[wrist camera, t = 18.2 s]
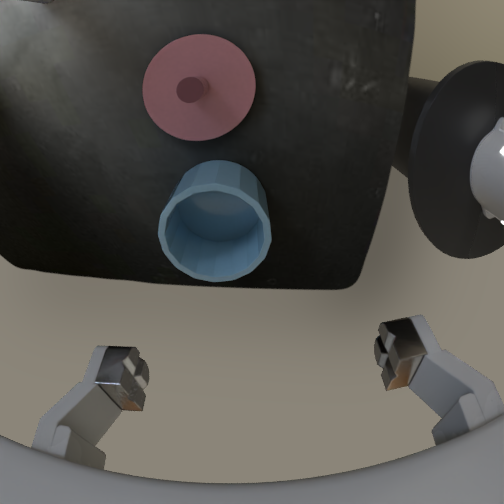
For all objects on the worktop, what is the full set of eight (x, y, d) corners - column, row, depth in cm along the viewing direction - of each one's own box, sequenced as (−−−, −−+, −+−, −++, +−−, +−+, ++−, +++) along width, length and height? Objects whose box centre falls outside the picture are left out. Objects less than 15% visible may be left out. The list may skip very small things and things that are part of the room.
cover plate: (248, 27, 27) (248, 19, 22) (261, 131, 35) (264, 142, 30) (137, 49, 28) (118, 47, 23) (156, 147, 36) (141, 161, 30)
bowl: (260, 154, 37) (265, 177, 30) (270, 238, 44) (275, 275, 37) (164, 168, 37) (145, 194, 30) (184, 248, 44) (174, 285, 37)
